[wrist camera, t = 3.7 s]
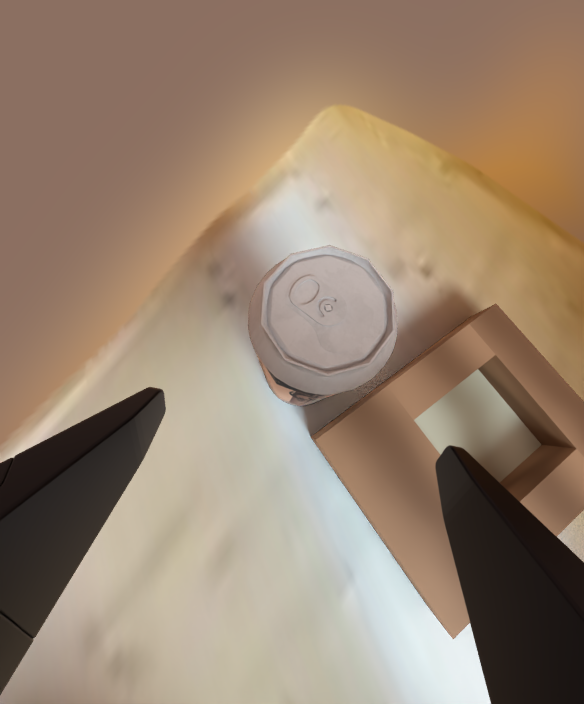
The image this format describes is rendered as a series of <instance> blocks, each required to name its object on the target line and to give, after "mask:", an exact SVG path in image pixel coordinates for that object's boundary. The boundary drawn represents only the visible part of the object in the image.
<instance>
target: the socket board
mask: <svg viewBox="0 0 584 704" xmlns="http://www.w3.org/2000/svg"><path fill="white" fill-rule="evenodd" d="M311 438H312V440H313V441H314V443H315V444H316V445H317V447H318V448H319V450H320V451H321V453H322V454H323V456H324V457H325V458H326V460H327V461H328V463H329V464H330V466H331V467H332V469H333V470H334V471H335V473H336V474H337V476H338V477H339V479H340V480H341V482H342V483H343V485H344V486H345V487H346V489H347V490H348V492H349V493H350V495H351V496H352V498H353V499H354V500H355V502H356V503H357V505H358V506H359V508H360V509H361V511H362V512H363V513H364V515H365V516H366V518H367V519H368V521H369V522H370V524H371V525H372V526H373V528H374V529H375V531H376V532H377V534H378V535H379V537H380V538H381V539H382V541H383V542H384V544H385V545H386V547H387V548H388V550H389V551H390V552H391V554H392V555H393V557H394V558H395V560H396V561H397V563H398V564H399V565H400V567H401V568H402V570H403V571H404V573H405V574H406V576H407V577H408V578H409V580H410V581H411V583H412V584H413V586H414V587H415V589H416V590H417V591H418V593H419V594H420V596H421V597H422V599H423V600H424V602H425V603H426V604H427V606H428V607H429V609H430V610H431V611H432V612H433V614H434V615H435V616H436V618H437V619H438V620H439V622H440V623H441V624H442V625H443V627H444V628H445V629H446V631H447V632H448V633H449V635H450V636H451V637H452V638H453V639H454V638H455V637H456V636H457V635H458V634H459V633H460V632H461V631H462V630H463V629H464V628H465V627H466V626H467V625H468V624H469V623H470V620H469V616H468V612H467V608H466V605H465V601H464V597H463V593H462V589H461V585H460V581H459V578H458V574H457V570H456V566H455V562H454V558H453V554H452V551H451V547H450V543H449V539H448V535H447V531H446V528H445V523H444V519H443V514H442V508H441V502H440V496H439V489H438V483H437V476H436V470H435V465H436V461H437V459H438V458H439V457H440V455H441V454H442V452H443V451H444V449H445V448H446V447H447V446H449V445H452V446H457V447H461V448H463V449H465V450H466V451H467V452H468V453H469V454H470V455H471V456H472V457H473V458H474V459H475V460H476V461H477V462H479V463H480V464H481V465H482V466H483V467H484V468H485V469H486V470H487V471H488V472H489V473H490V474H491V475H492V476H493V477H494V478H495V479H496V480H497V481H499V482H500V483H501V484H502V485H503V486H504V487H505V488H506V489H507V490H508V491H509V492H510V493H511V494H512V495H513V496H514V497H515V498H516V499H517V500H519V501H520V502H521V503H522V504H523V505H524V506H525V507H526V508H527V509H528V510H529V511H530V512H531V513H532V514H533V515H534V516H535V517H536V518H537V519H538V520H540V521H541V522H542V523H543V524H544V525H545V526H546V527H547V528H548V529H549V530H550V531H551V532H552V533H553V534H554V535H555V536H556V537H557V536H558V535H559V534H560V533H561V532H562V531H563V530H564V529H565V528H566V527H567V526H568V525H569V524H570V523H571V522H572V521H573V520H574V519H575V518H576V517H577V516H578V515H579V514H580V513H581V512H582V511H583V510H584V402H583V400H582V399H581V398H580V397H579V396H578V395H577V394H576V393H575V392H574V390H573V389H572V388H571V387H570V386H569V385H568V384H567V383H566V381H565V380H564V379H563V378H562V377H561V376H560V375H559V374H558V372H557V371H556V370H555V369H554V368H553V367H552V366H551V365H550V364H549V362H548V361H547V360H546V359H545V358H544V357H543V356H542V355H541V353H540V352H539V351H538V350H537V349H536V348H535V347H534V346H533V344H532V343H531V342H530V341H529V340H528V339H527V338H526V337H525V336H524V334H523V333H522V332H521V331H520V330H519V329H518V328H517V327H516V325H515V324H514V323H513V322H512V321H511V320H510V319H509V318H508V316H507V315H506V314H505V313H504V312H503V311H502V310H501V309H500V308H499V306H498V305H497V304H494V305H492V306H491V307H489V308H487V309H485V310H483V311H481V312H479V313H477V314H475V315H473V316H471V317H470V318H468V319H467V320H466V321H464V322H463V323H462V324H461V325H459V326H458V327H457V328H455V329H454V330H453V331H451V332H450V333H449V334H447V335H446V336H445V337H443V338H442V339H441V340H439V341H438V342H437V343H435V344H434V345H433V346H431V347H430V348H429V349H427V350H426V351H425V352H423V353H422V354H421V355H419V356H418V357H417V358H415V359H414V360H413V361H411V362H410V363H409V364H407V365H406V366H405V367H403V368H402V369H401V370H399V371H398V372H397V373H395V374H394V375H393V376H391V377H390V378H389V379H387V380H386V381H385V382H383V383H382V384H381V385H379V386H378V387H377V388H375V389H374V390H373V391H371V392H370V393H369V394H367V395H366V396H365V397H363V398H362V399H361V400H359V401H358V402H357V403H355V404H354V405H353V406H351V407H350V408H349V409H347V410H346V411H345V412H343V413H342V414H341V415H339V416H338V417H337V418H335V419H334V420H333V421H331V422H330V423H329V424H327V425H326V426H325V427H323V428H322V429H321V430H319V431H318V432H317V433H315V434H314V435H313V436H311Z"/></svg>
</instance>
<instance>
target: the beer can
mask: <svg viewBox="0 0 584 704" xmlns="http://www.w3.org/2000/svg"><path fill="white" fill-rule="evenodd" d="M248 328H249V334H250V339H251V342H252V344H253V347H254V349H255V352H256V354H257V357H258V359H259V362H260V364H261V367H262V369H263V372H264V374H265V377H266V379H267V382H268V384H269V387H270V388H271V390H272V391H273V393H274V394H275V395H276V396H277V397H278V398H279V399H281V400H282V401H284V402H286V403H289V404H292V405H297V406H305V405H309V404H313V403H315V402H317V401H319V400H322V399H324V398H327V397H330V396H332V395H335V394H337V393H341V392H345V391H350V390H353V389H355V388H357V387H359V386H361V385H363V384H365V383H367V382H368V381H370V380H371V379H372V378H373V377H374V376H375V375H376V374H377V373H378V372H379V371H380V370H381V369H382V368H383V367H384V366H385V364H386V362H387V361H388V359H389V357H390V355H391V354H392V352H393V349H394V346H395V342H396V338H397V311H396V307H395V303H394V292H393V290H392V289H391V287H390V286H389V285H388V283H387V282H386V281H385V280H384V278H383V277H382V276H381V274H380V273H379V272H378V271H377V269H376V268H375V267H374V265H373V264H372V263H371V262H370V260H369V259H367V258H365V257H362V256H359V255H356V254H353V253H351V252H348V251H345V250H342V249H339V248H337V247H334V246H331V245H328V246H323V247H319V248H315V249H310V250H306V251H301V252H297V253H292V254H290V255H289V256H288V257H287V258H286V259H284V260H283V261H281V262H280V263H278V264H277V265H275V266H274V267H273V268H272V269H271V270H270V271H269V272H267V274H266V275H265V276H264V278H263V279H262V280H261V282H260V283H259V284H258V286H257V287H256V290H255V292H254V295H253V297H252V300H251V302H250V307H249V322H248Z"/></svg>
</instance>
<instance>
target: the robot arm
mask: <svg viewBox="0 0 584 704" xmlns="http://www.w3.org/2000/svg"><path fill="white" fill-rule="evenodd" d="M165 410H166V407H165V398H164V392H163V390H162V389H158V388H153V387H148V388H146V389H144V390H142V391H140V392H138V393H136V394H134V395H132V396H130V397H128V398H126V399H124V400H123V401H121V402H119V403H117V404H115V405H113V406H111V407H109V408H107V409H105V410H103V411H101V412H99V413H97V414H95V415H93V416H91V417H89V418H88V419H86V420H84V421H82V422H80V423H78V424H76V425H74V426H72V427H70V428H68V429H66V430H64V431H62V432H60V433H58V434H56V435H54V436H53V437H51V438H49V439H47V440H45V441H43V442H41V443H39V444H37V445H35V446H33V447H31V448H29V449H27V450H25V451H23V452H21V453H19V454H18V455H16V456H15V457H14V458H10V459H8V460H6V461H4V462H2V463H0V695H1V693H2V691H3V690H4V688H5V686H6V685H7V683H8V682H9V680H10V678H11V677H12V675H13V673H14V672H15V670H16V668H17V667H18V665H19V663H20V662H21V660H22V659H23V657H24V655H25V654H26V652H27V650H28V649H29V647H30V645H31V644H32V642H33V638H35V637H36V635H37V633H38V632H39V630H40V629H41V627H42V625H43V624H44V622H45V620H46V619H47V617H48V615H49V614H50V612H51V610H52V609H53V607H54V606H55V604H56V602H57V601H58V599H59V597H60V596H61V594H62V592H63V591H64V589H65V588H66V586H67V584H68V583H69V581H70V579H71V578H72V576H73V574H74V573H75V571H76V569H77V568H78V566H79V565H80V563H81V561H82V560H83V558H84V556H85V555H86V553H87V551H88V550H89V548H90V546H91V545H92V543H93V542H94V540H95V538H96V537H97V535H98V533H99V532H100V530H101V528H102V527H103V525H104V523H105V522H106V520H107V519H108V517H109V515H110V514H111V512H112V510H113V509H114V507H115V505H116V504H117V502H118V500H119V499H120V497H121V496H122V494H123V492H124V491H125V489H126V487H127V486H128V484H129V482H130V481H131V479H132V477H133V476H134V474H135V473H136V471H137V469H138V468H139V466H140V464H141V462H142V461H143V459H144V457H145V455H146V453H147V451H148V449H149V447H150V444H151V442H152V440H153V438H154V436H155V434H156V432H157V430H158V427H159V425H160V423H161V421H162V419H163V417H164V414H165ZM435 470H436V476H437V483H438V489H439V496H440V502H441V508H442V514H443V519H444V523H445V528H446V531H447V535H448V539H449V543H450V547H451V551H452V554H453V558H454V562H455V566H456V570H457V574H458V578H459V581H460V585H461V589H462V593H463V597H464V601H465V605H466V608H467V612H468V616H469V620H470V624H471V628H472V632H473V635H474V639H475V643H476V647H477V651H478V655H479V659H480V662H481V666H482V670H483V674H484V678H485V682H486V686H487V689H488V693H489V697H490V701H491V704H584V562H583V561H582V560H581V559H579V558H578V557H577V556H576V555H575V554H574V553H573V552H572V551H571V550H570V549H569V548H568V547H567V546H566V545H565V544H564V543H563V542H562V541H561V540H560V539H558V538H557V537H556V536H555V535H554V534H553V533H552V532H551V531H550V530H549V529H548V528H547V527H546V526H545V525H544V524H543V523H542V522H541V521H540V520H538V519H537V518H536V517H535V516H534V515H533V514H532V513H531V512H530V511H529V510H528V509H527V508H526V507H525V506H524V505H523V504H522V503H521V502H520V501H519V500H517V499H516V498H515V497H514V496H513V495H512V494H511V493H510V492H509V491H508V490H507V489H506V488H505V487H504V486H503V485H502V484H501V483H500V482H499V481H497V480H496V479H495V478H494V477H493V476H492V475H491V474H490V473H489V472H488V471H487V470H486V469H485V468H484V467H483V466H482V465H481V464H480V463H479V462H477V461H476V460H475V459H474V458H473V457H472V456H471V455H470V454H469V453H468V452H467V451H466V450H465V449H463V448H461V447H457V446H452V445H449V446H447V447H446V448H445V449H444V451H443V452H442V454H441V455H440V457H439V458H438V459H437V461H436V465H435Z"/></svg>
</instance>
